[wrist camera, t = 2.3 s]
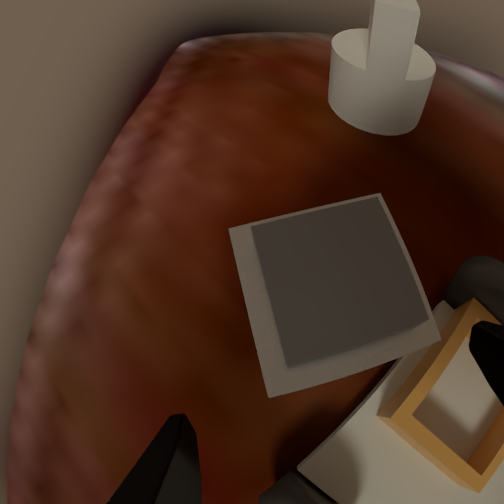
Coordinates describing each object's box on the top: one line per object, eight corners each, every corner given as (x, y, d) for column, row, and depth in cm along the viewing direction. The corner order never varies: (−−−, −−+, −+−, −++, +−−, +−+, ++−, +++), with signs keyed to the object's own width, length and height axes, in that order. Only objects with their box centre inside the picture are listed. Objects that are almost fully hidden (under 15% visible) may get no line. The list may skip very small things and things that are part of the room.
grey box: (346, 376, 17) (455, 333, 5) (278, 395, 17) (267, 398, 5) (327, 312, 19) (386, 176, 7) (261, 330, 19) (223, 213, 7)
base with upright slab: (333, 70, 29) (338, -32, 18) (416, 89, 27) (440, -9, 16) (321, 122, 25) (327, -7, 15) (422, 146, 24) (464, 27, 13)
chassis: (577, 418, 12) (617, 412, 7) (443, 599, 8) (469, 626, 3) (447, 275, 19) (483, 242, 14) (262, 484, 15) (253, 513, 10)
